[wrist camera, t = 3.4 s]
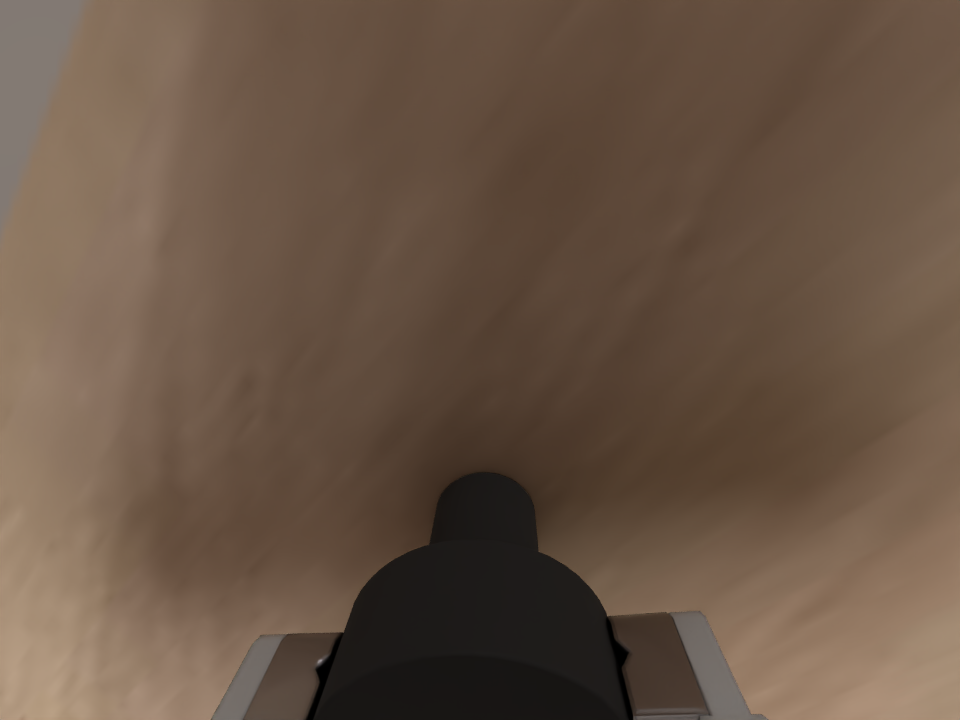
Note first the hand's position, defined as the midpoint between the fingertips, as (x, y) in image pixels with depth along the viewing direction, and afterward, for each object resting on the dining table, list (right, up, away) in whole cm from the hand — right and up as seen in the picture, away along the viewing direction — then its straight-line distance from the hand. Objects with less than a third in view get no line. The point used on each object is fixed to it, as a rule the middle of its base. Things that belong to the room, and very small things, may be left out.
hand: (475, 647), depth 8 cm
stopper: (0, +1, +3) cm, 4 cm away
